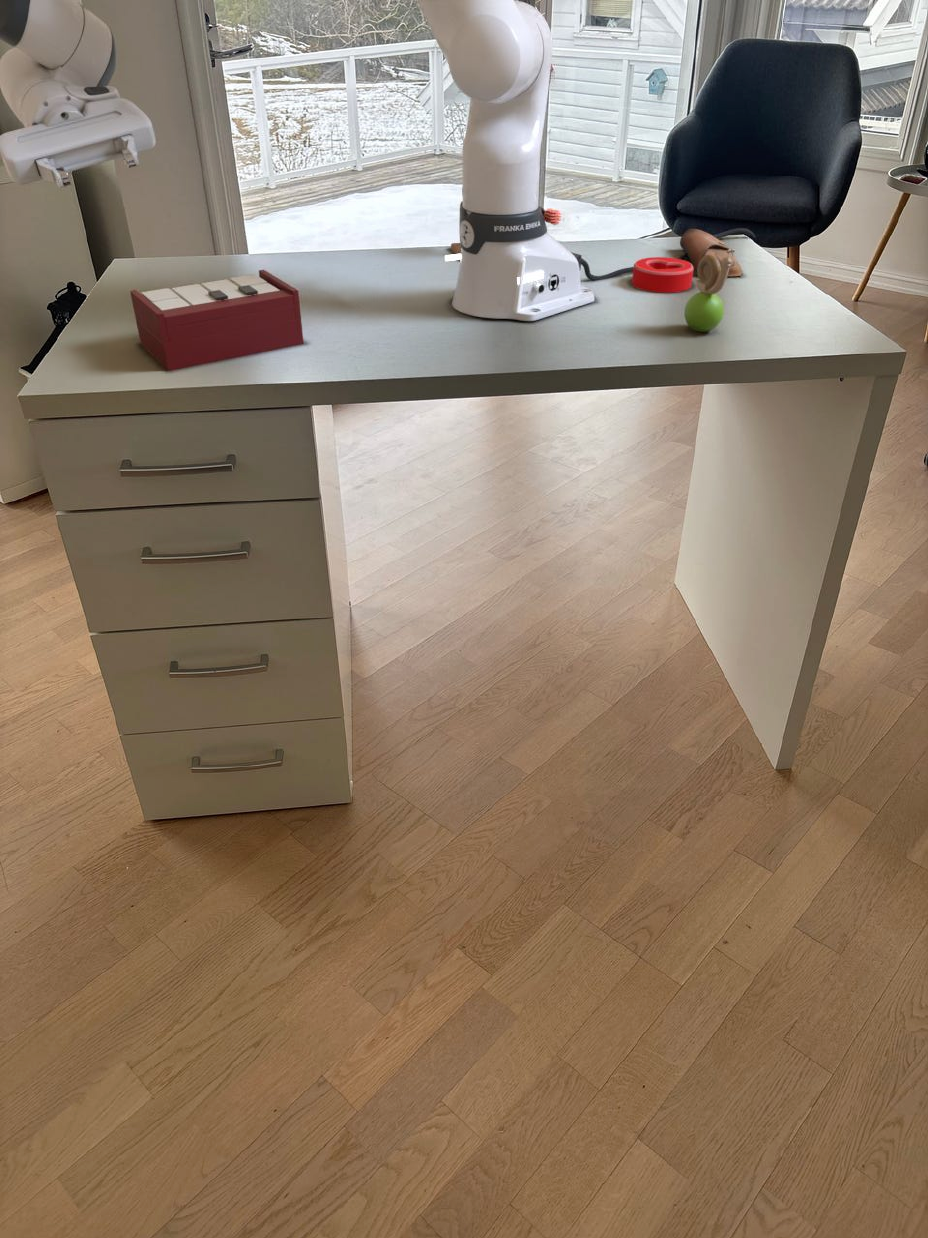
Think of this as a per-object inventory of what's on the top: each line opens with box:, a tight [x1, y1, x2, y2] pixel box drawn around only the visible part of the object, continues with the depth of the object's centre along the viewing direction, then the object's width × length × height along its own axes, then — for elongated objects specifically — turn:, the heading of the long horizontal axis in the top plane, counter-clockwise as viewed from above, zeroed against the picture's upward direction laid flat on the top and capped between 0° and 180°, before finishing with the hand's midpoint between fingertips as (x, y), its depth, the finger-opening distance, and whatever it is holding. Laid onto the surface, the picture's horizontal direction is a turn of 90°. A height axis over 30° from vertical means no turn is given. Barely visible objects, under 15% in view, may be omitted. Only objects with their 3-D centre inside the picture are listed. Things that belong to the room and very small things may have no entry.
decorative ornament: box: [631, 256, 695, 294], centre depth 152 cm, size 10×10×3 cm
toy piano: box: [129, 269, 305, 372], centre depth 127 cm, size 19×12×7 cm, turn 122°
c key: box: [229, 273, 267, 287], centre depth 131 cm, size 4×4×1 cm
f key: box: [140, 287, 179, 303], centre depth 126 cm, size 4×4×1 cm
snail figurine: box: [683, 248, 736, 333], centre depth 130 cm, size 5×6×12 cm
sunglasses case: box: [679, 228, 744, 278], centre depth 162 cm, size 18×7×7 cm
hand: (99, 171), depth 123 cm, fingers open, 8 cm apart
